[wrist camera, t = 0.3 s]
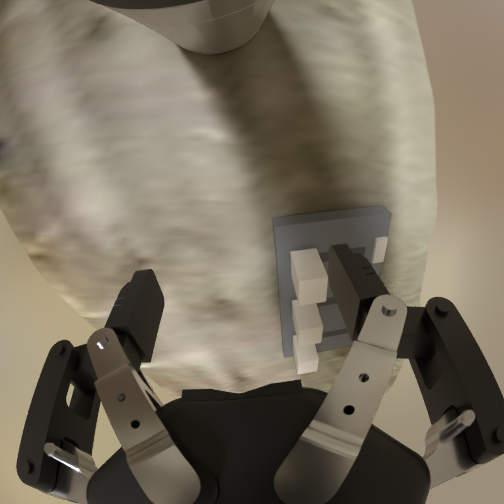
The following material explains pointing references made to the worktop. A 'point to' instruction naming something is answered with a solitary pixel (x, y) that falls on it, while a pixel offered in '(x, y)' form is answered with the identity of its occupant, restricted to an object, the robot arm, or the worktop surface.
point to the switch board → (326, 261)
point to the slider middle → (307, 323)
